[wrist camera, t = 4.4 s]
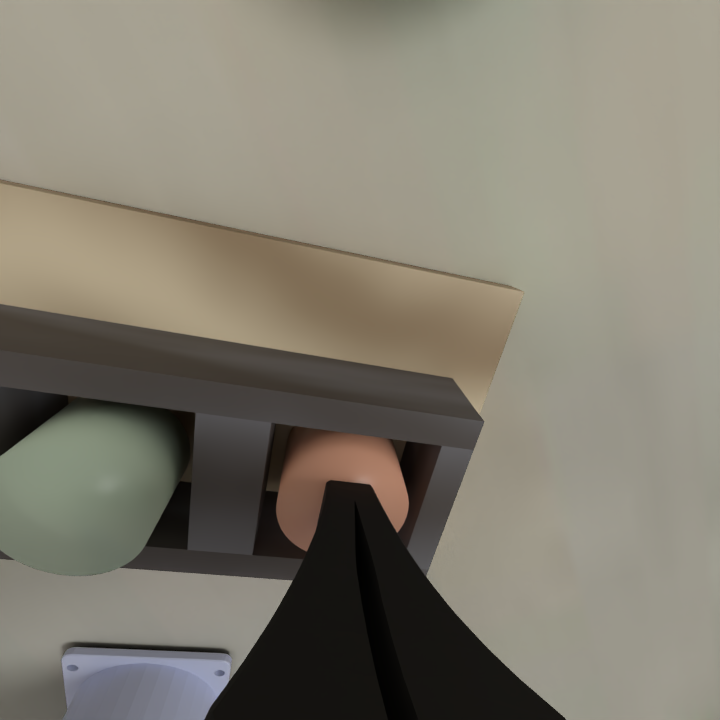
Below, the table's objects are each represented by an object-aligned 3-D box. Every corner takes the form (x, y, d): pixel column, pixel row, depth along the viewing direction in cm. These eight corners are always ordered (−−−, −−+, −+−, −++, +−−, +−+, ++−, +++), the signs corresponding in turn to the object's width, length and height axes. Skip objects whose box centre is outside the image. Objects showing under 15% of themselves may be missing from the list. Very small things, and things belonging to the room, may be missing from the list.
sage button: (188, 501, 13) (150, 581, 10) (60, 488, 12) (-16, 570, 10) (193, 400, 12) (151, 460, 9) (50, 379, 11) (-44, 438, 8)
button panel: (412, 565, 19) (433, 654, 15) (-165, 517, 15) (-326, 618, 11) (511, 286, 14) (579, 315, 10) (-316, 113, 10) (-693, 58, 6)
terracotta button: (379, 497, 15) (391, 562, 12) (279, 486, 15) (268, 552, 12) (404, 412, 14) (423, 463, 11) (294, 395, 13) (285, 446, 10)
